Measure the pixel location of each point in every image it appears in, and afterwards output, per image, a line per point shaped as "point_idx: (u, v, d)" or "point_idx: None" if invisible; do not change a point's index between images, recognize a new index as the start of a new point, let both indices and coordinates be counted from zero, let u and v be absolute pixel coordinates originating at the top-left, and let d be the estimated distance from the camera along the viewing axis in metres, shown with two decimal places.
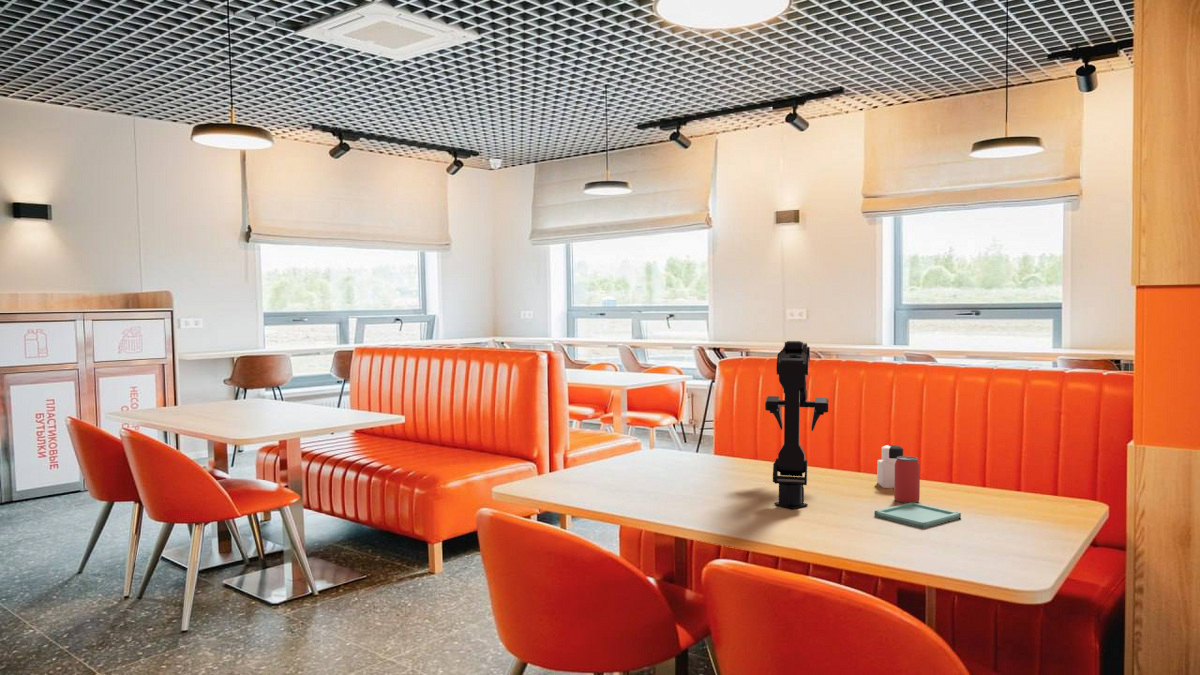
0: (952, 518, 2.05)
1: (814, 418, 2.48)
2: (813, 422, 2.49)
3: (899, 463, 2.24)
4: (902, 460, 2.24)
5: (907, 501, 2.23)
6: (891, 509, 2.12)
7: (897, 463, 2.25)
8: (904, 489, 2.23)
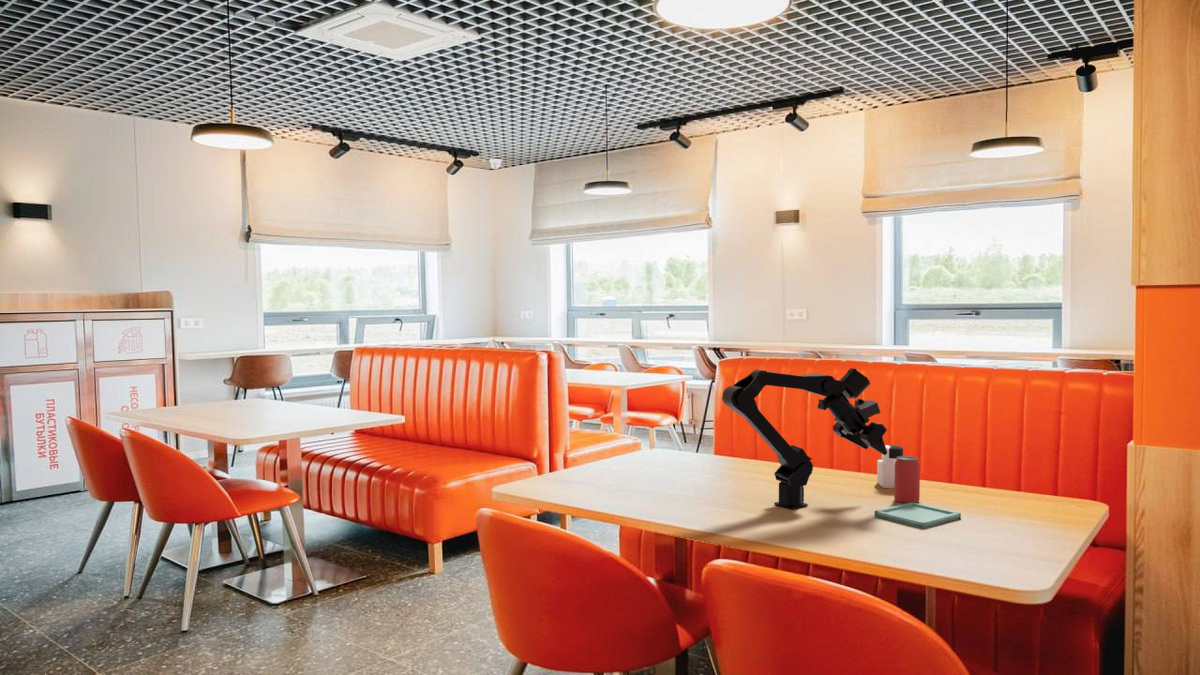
0: (952, 518, 2.05)
1: (871, 447, 2.20)
2: (875, 449, 2.21)
3: (899, 463, 2.24)
4: (902, 460, 2.24)
5: (907, 501, 2.23)
6: (891, 509, 2.12)
7: (897, 463, 2.25)
8: (904, 489, 2.23)
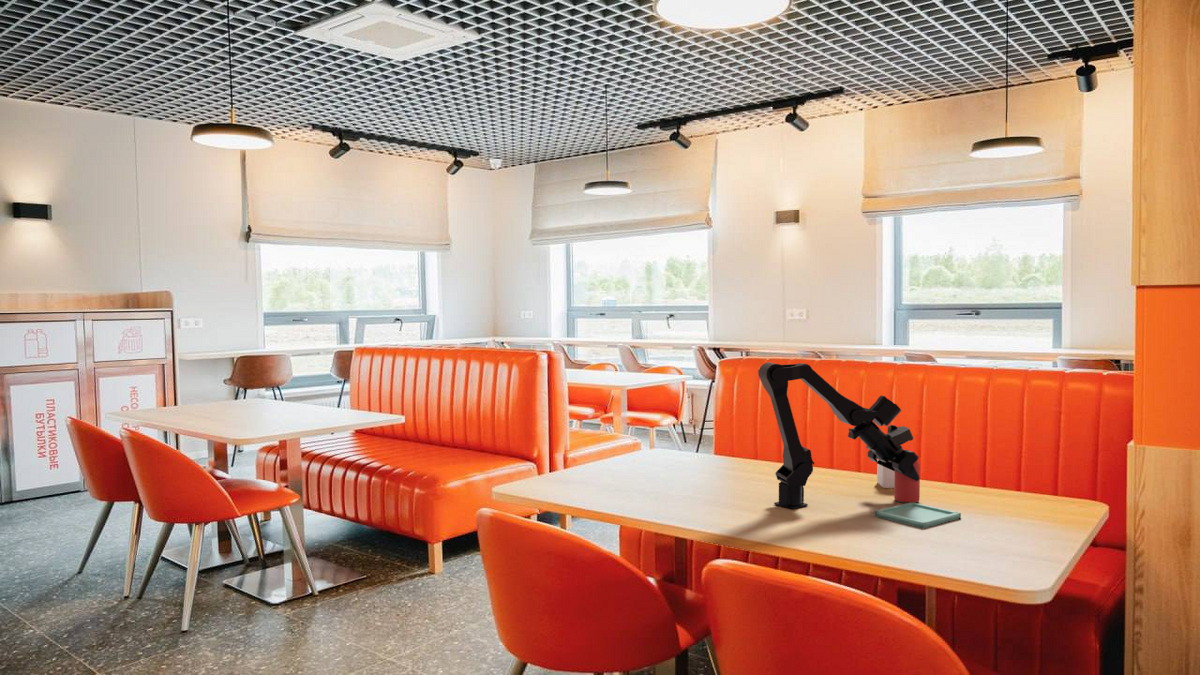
0: (952, 518, 2.05)
1: None
2: None
3: None
4: None
5: (907, 501, 2.23)
6: (891, 509, 2.12)
7: None
8: (904, 489, 2.23)
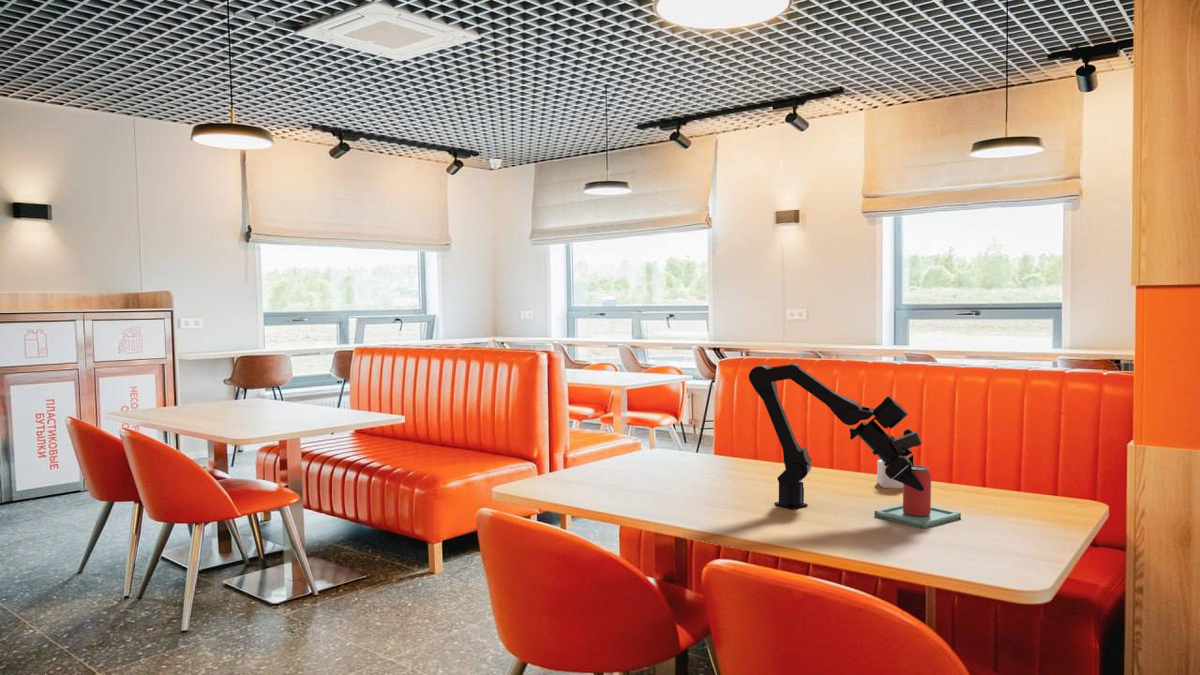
0: (952, 518, 2.05)
1: None
2: None
3: None
4: None
5: (910, 513, 2.07)
6: (891, 509, 2.12)
7: None
8: (907, 501, 2.07)
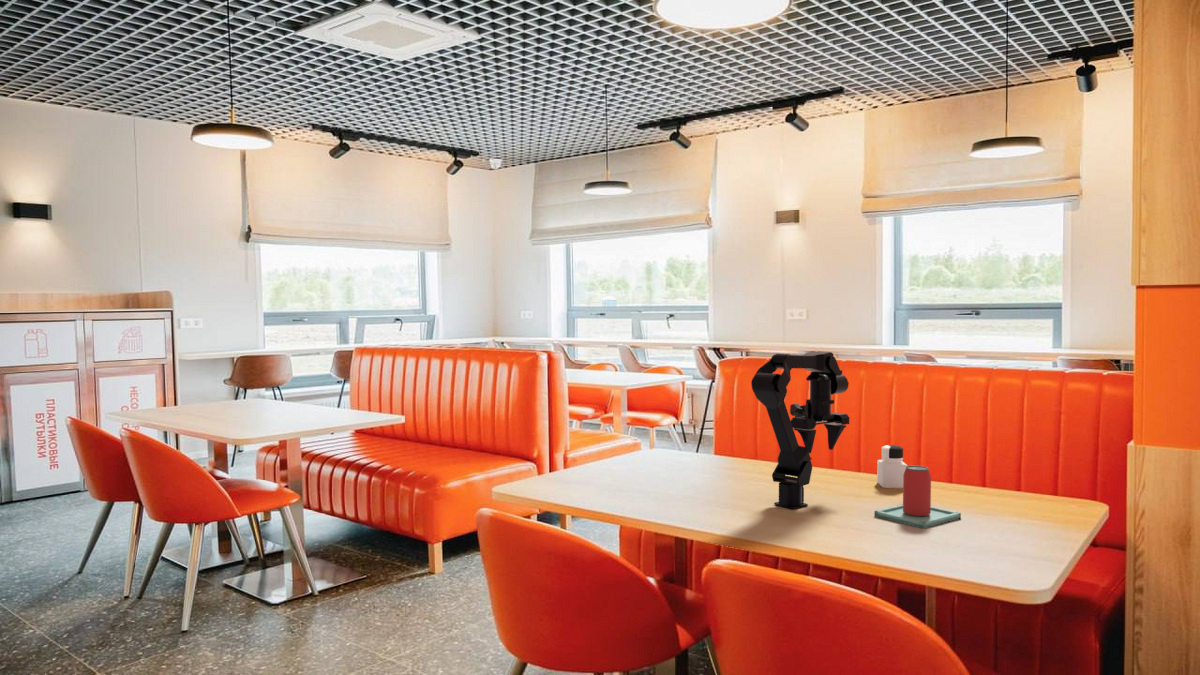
0: (952, 518, 2.05)
1: (839, 433, 2.31)
2: (836, 438, 2.31)
3: (905, 472, 2.08)
4: (907, 469, 2.08)
5: (910, 513, 2.07)
6: (891, 509, 2.12)
7: (904, 472, 2.09)
8: (907, 501, 2.07)
